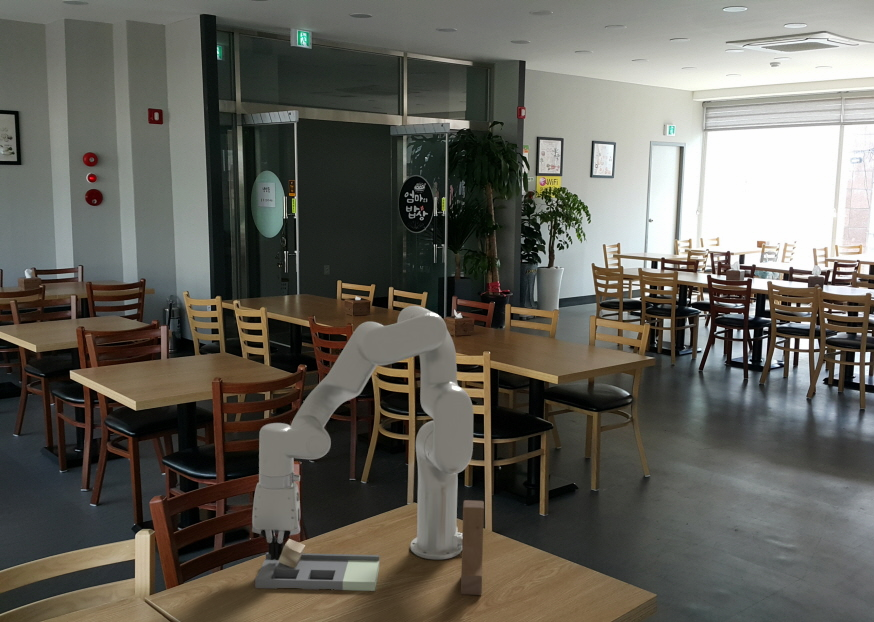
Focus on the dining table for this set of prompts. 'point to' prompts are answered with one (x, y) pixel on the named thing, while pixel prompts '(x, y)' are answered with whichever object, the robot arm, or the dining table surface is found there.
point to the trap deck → (321, 572)
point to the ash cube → (291, 553)
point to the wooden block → (472, 547)
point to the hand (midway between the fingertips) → (275, 557)
